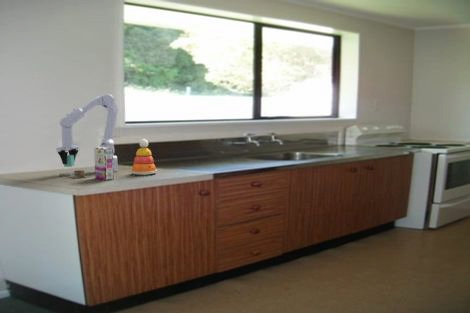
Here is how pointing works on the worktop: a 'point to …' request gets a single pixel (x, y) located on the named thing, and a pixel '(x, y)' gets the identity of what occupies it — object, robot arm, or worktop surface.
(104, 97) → the robot arm
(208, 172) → the worktop surface
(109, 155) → the candy bar box
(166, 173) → the worktop surface
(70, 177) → the rod
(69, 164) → the block
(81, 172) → the channel
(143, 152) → the stacking toy
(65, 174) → the coaster
